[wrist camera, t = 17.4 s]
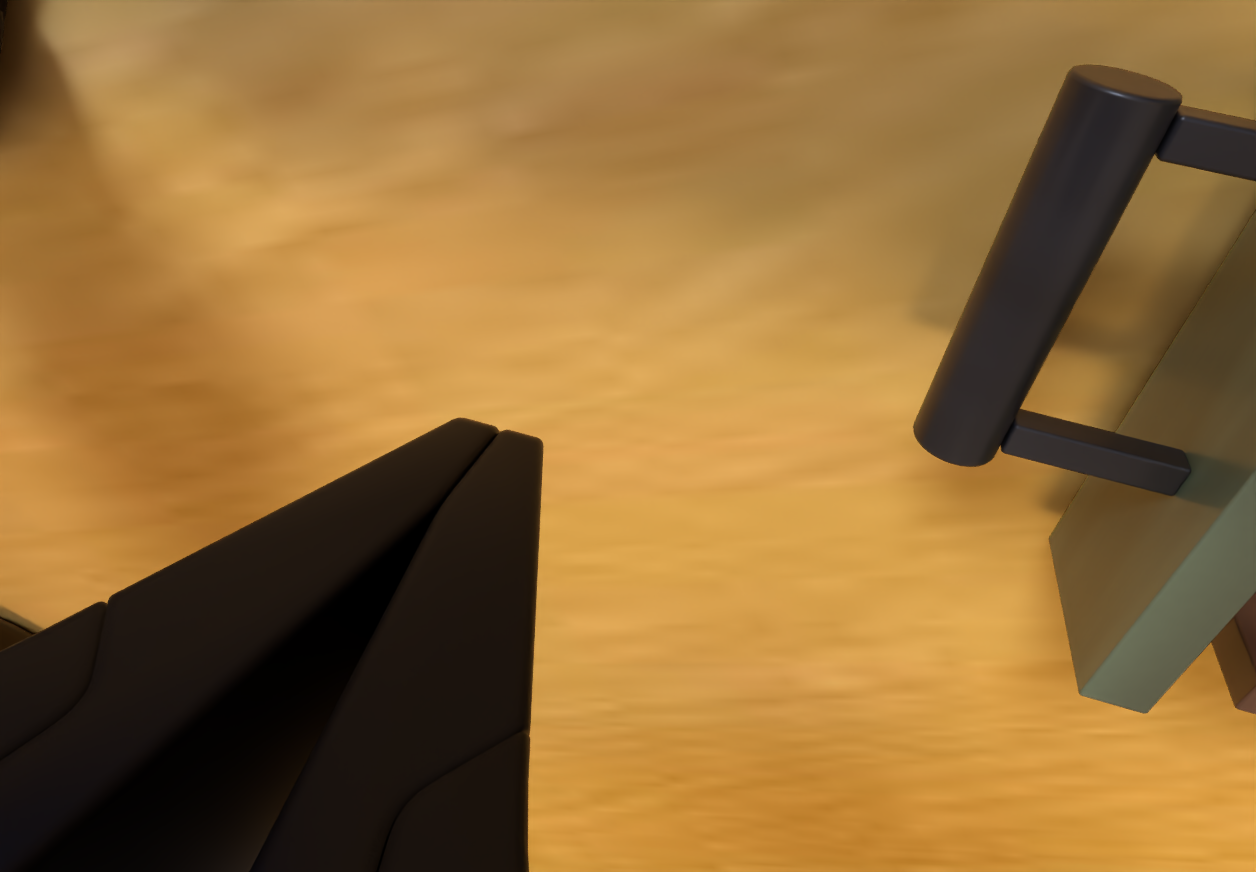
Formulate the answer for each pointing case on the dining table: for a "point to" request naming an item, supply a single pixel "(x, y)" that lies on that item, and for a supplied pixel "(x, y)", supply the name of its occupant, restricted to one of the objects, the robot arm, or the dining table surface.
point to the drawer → (1157, 421)
